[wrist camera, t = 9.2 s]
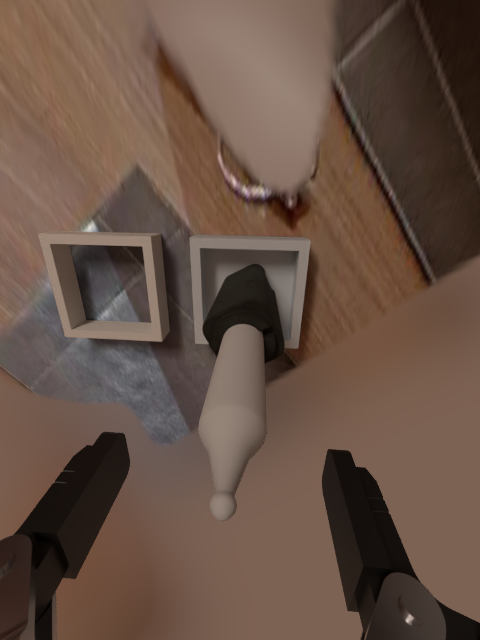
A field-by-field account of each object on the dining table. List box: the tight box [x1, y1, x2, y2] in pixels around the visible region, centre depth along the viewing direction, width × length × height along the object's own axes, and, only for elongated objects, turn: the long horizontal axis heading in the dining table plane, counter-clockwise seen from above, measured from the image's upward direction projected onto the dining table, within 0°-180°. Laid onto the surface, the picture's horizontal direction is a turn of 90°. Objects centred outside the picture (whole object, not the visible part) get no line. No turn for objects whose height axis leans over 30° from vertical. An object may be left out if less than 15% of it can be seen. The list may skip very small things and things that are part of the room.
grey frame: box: [38, 231, 170, 342], centre depth 31 cm, size 12×12×3 cm
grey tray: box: [190, 235, 311, 349], centre depth 30 cm, size 12×12×3 cm
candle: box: [199, 264, 285, 521], centre depth 20 cm, size 5×5×25 cm
